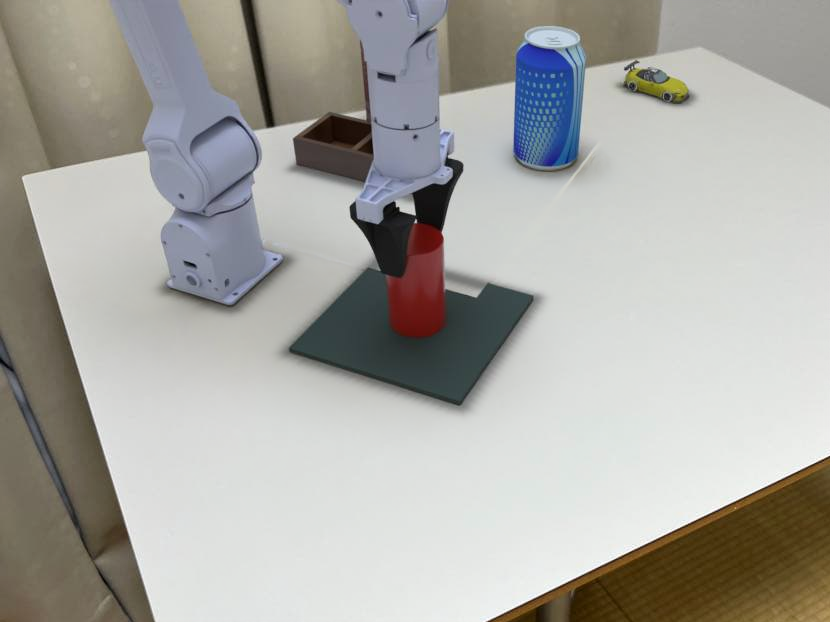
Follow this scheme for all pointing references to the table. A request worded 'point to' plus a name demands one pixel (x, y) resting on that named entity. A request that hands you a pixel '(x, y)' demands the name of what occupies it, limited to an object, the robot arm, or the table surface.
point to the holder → (336, 146)
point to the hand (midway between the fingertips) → (412, 253)
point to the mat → (407, 356)
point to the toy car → (655, 83)
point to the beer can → (548, 98)
